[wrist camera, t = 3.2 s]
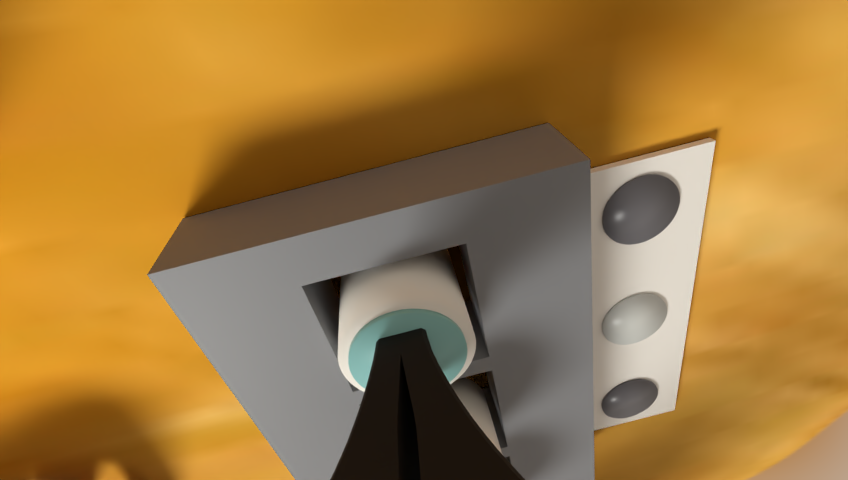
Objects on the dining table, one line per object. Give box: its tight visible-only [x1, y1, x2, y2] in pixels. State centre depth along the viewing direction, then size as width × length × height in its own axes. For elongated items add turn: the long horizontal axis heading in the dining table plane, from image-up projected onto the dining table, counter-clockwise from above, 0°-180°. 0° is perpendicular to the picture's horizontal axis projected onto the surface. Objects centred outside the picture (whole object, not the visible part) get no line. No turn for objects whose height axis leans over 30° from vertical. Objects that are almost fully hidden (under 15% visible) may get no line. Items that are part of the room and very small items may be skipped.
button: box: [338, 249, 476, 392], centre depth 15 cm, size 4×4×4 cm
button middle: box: [450, 377, 502, 454], centre depth 16 cm, size 4×4×4 cm
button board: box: [147, 123, 595, 480], centre depth 18 cm, size 19×12×3 cm, turn 12°
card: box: [590, 138, 715, 430], centre depth 19 cm, size 15×5×1 cm, turn 12°
